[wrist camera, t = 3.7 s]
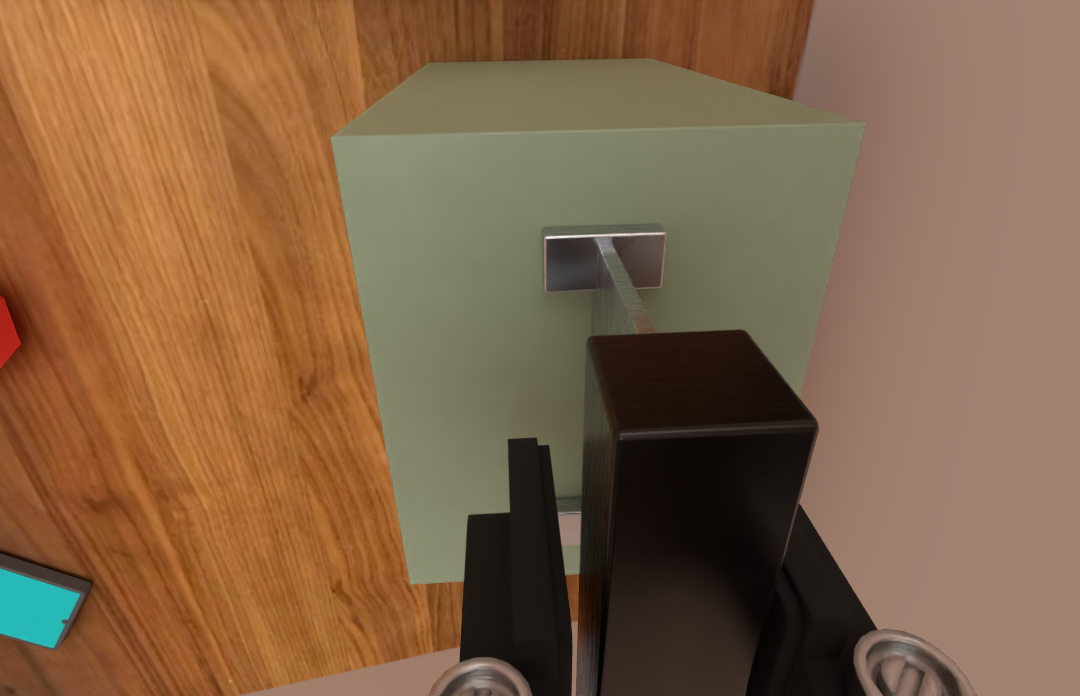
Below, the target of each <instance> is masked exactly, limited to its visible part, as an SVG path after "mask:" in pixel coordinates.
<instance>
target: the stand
mask: <svg viewBox="0 0 1080 696" xmlns="http://www.w3.org/2000/svg"><path fill="white" fill-rule="evenodd" d="M865 127H866V123H864V122H861V121H858V120H855V119H851V118H848V117H845V116H841V115H838V114H835V113H831V112H828V111H825V110H821V109H818V108H815V107H811V106H808V105H805V104H801V103H798V102H794V101H791V100H788V99H785V98H781V97H778V96H775V95H771V94H768V93H765V92H761V91H758V90H755V89H751V88H748V87H745V86H741V85H738V84H735V83H731V82H728V81H725V80H721V79H718V78H715V77H711V76H708V75H705V74H701V73H698V72H695V71H691V70H688V69H685V68H681V67H678V66H675V65H671V64H668V63H665V62H661V61H658V60H655V59H651V58H631V59H579V60H527V61H476V62H429V63H427V64H426V65H424V66H423V67H422V68H420V69H419V70H418V71H417V72H415V73H414V74H413V75H411V76H410V77H409V78H407V79H406V80H405V81H403V82H402V83H401V84H399V85H398V86H397V87H395V88H394V89H393V90H392V91H390V92H389V93H388V94H386V95H385V96H384V97H382V98H381V99H380V100H378V101H377V102H376V103H374V104H373V105H372V106H370V107H369V108H368V109H367V110H365V111H364V112H363V113H361V114H360V115H359V116H357V117H356V118H355V119H353V120H352V121H351V122H349V123H348V124H347V125H345V126H344V127H343V128H342V129H340V130H339V131H338V132H336V133H335V134H334V135H332V136H331V145H332V150H333V156H334V161H335V167H336V173H337V178H338V184H339V189H340V195H341V201H342V206H343V212H344V217H345V223H346V229H347V234H348V240H349V245H350V251H351V257H352V262H353V268H354V273H355V279H356V285H357V290H358V296H359V301H360V307H361V312H362V318H363V324H364V329H365V335H366V340H367V346H368V352H369V357H370V363H371V368H372V374H373V380H374V385H375V391H376V396H377V402H378V408H379V413H380V419H381V424H382V430H383V436H384V441H385V447H386V452H387V458H388V464H389V469H390V475H391V480H392V486H393V492H394V497H395V503H396V508H397V514H398V520H399V525H400V531H401V536H402V542H403V548H404V553H405V559H406V564H407V570H408V576H409V581H410V584H427V583H443V582H459V581H464V571H465V553H466V535H467V520H468V515H471V514H488V513H506V512H510V500H509V466H508V439H514V438H534V437H537V441H538V445H549V448H550V456H551V464H552V472H553V480H554V488H555V496H556V498H568V497H582V465H583V430H584V395H585V359H586V342H587V340H588V337H590V336H591V322H592V291H576V292H550V293H547V292H544V290H543V284H542V250H541V230H542V228H544V227H565V226H595V225H625V224H654V223H658V224H661V226H662V227H663V228H664V230H665V231H666V233H667V239H666V249H665V260H664V270H663V281H662V286H661V288H653V289H636V291H637V293H638V295H639V297H640V299H641V301H642V303H643V305H644V307H645V309H646V311H647V313H648V315H649V317H650V319H651V321H652V323H653V325H654V327H655V329H656V331H657V333H667V332H690V331H713V330H737V329H741V330H744V331H747V332H748V334H749V335H750V336H751V337H752V339H753V340H754V341H755V342H756V344H757V345H758V346H759V347H760V349H761V350H762V351H763V353H764V354H765V355H766V356H767V358H768V359H769V360H770V361H771V363H772V364H773V365H774V367H775V368H776V369H777V370H778V372H779V373H780V374H781V375H782V377H783V378H784V379H785V381H786V382H787V383H788V384H789V386H790V387H791V388H792V389H793V391H794V392H795V393H796V394H797V396H798V397H799V398H800V394H801V391H802V386H803V382H804V378H805V373H806V370H807V366H808V361H809V357H810V353H811V349H812V345H813V341H814V337H815V333H816V329H817V325H818V321H819V316H820V312H821V308H822V304H823V300H824V296H825V292H826V288H827V283H828V279H829V275H830V271H831V267H832V263H833V259H834V255H835V251H836V246H837V242H838V238H839V234H840V230H841V226H842V222H843V218H844V213H845V209H846V205H847V201H848V197H849V193H850V189H851V185H852V180H853V176H854V172H855V168H856V164H857V160H858V155H859V152H860V148H861V144H862V139H863V135H864V131H865ZM562 552H563V560H564V568H565V575H569V574H579V571H580V545H577V546H562Z"/></svg>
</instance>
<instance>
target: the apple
mask: <svg viewBox="0 0 1080 696" xmlns="http://www.w3.org/2000/svg"><path fill="white" fill-rule="evenodd" d="M20 345H21V343H20V340H19V337H18V335H17V332H16V329H15V327H14V324H13V321H12V319H11V316H10V313H9V311H8V308H7V305H6V303H5V300H4V298H3V297H2V296H0V368H1V367H2V366H3V365H4V364H5V362H6V361H7V360H8V359H9V358H10V356H11V355H12V354H13V353H14V352H15V351H16V349H17V348H18V347H19V346H20Z"/></svg>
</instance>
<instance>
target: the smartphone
mask: <svg viewBox="0 0 1080 696" xmlns="http://www.w3.org/2000/svg"><path fill="white" fill-rule="evenodd" d="M91 586H92V585H91V584H90V583H89V582H87V581H84V580H81V579H78V578H75V577H71V576H68V575H65V574H62V573H59V572H56V571H53V570H50V569H47V568H44V567H41V566H38V565H35V564H31V563H28V562H25V561H22V560H19V559H16V558H13V557H10V556H7V555H4V554H1V553H0V636H4V637H7V638H11V639H14V640H18V641H21V642H25V643H28V644H32V645H35V646H39V647H42V648H46V649H49V650H58V648H59V647H60V646H61V644H62V643H63V641H64V640H65V638H66V636H67V634H68V632H69V630H70V628H71V626H72V624H73V622H74V620H75V618H76V616H77V614H78V612H79V610H80V608H81V606H82V604H83V602H84V600H85V598H86V596H87V594H88V593H89V591H90V589H91Z"/></svg>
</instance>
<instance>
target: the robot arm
mask: <svg viewBox="0 0 1080 696" xmlns="http://www.w3.org/2000/svg"><path fill="white" fill-rule="evenodd" d="M508 466H509V500H510V512H506V513H488V514H471V515H468V520H467V535H466V553H465V571H464V589H463V608H462V626H461V644H460V662H459V663H458V664H456V665H455V666H453V667H452V668H450V669H448V670H447V671H445V672H444V674H443V675H442V676H441V677H440V678H439V679H438V680H437V681H436V682H435V683H434V685H433V687H432V689H431V691H430V693H429V695H428V696H571V691H572V628H571V617H570V608H569V600H568V592H567V584H566V576H565V568H564V560H563V552H562V544H561V536H560V528H559V520H558V512H557V504H556V496H555V488H554V480H553V472H552V464H551V456H550V448H549V445H538V441H537V437H534V438H514V439H508ZM747 696H978V695H977V693H976V692H975V690H974V688H973V687H972V685H971V684H970V682H969V681H968V679H967V677H966V676H965V675H964V674H963V672H962V671H961V670H960V668H958V666H957V665H956V663H955V662H954V661H953V660H952V659H950V658H949V657H948V656H947V655H946V654H945V653H944V652H942V651H941V650H940V649H939V648H937V647H936V646H934V645H932V644H931V643H929V642H927V641H926V640H924V639H922V638H920V637H918V636H915V635H912V634H909V633H907V632H904V631H899V630H891V629H881V630H878V629H877V628H876V626H875V625H874V623H873V621H872V620H871V618H870V616H869V615H868V613H867V612H866V610H865V608H864V607H863V605H862V604H861V602H860V600H859V599H858V597H857V595H856V594H855V592H854V591H853V589H852V587H851V586H850V584H849V583H848V581H847V579H846V578H845V576H844V574H843V573H842V571H841V570H840V568H839V566H838V565H837V563H836V562H835V560H834V558H833V557H832V555H831V554H830V552H829V550H828V549H827V547H826V545H825V544H824V542H823V541H822V539H821V538H820V536H819V534H818V532H817V531H816V529H815V528H814V526H813V525H812V523H811V521H810V520H809V518H808V516H807V515H806V513H805V511H804V510H803V508H802V507H801V505H800V504H799V505H798V509H797V512H796V516H795V520H794V523H793V527H792V531H791V534H790V538H789V542H788V546H787V549H786V553H785V557H784V560H783V564H782V568H781V571H780V575H779V579H778V582H777V586H776V590H775V594H774V597H773V601H772V605H771V608H770V612H769V616H768V619H767V623H766V627H765V631H764V634H763V638H762V642H761V645H760V649H759V653H758V656H757V660H756V664H755V667H754V671H753V675H752V679H751V682H750V686H749V690H748V693H747Z"/></svg>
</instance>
